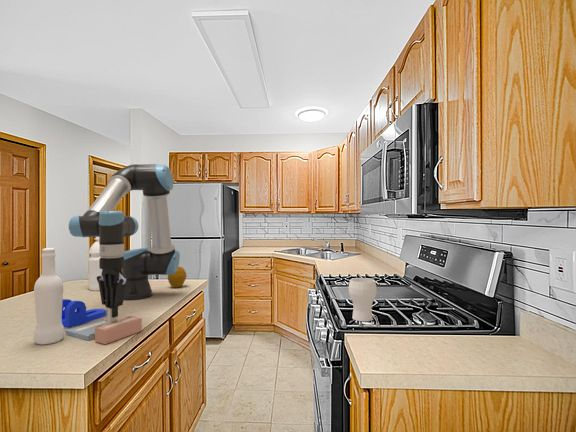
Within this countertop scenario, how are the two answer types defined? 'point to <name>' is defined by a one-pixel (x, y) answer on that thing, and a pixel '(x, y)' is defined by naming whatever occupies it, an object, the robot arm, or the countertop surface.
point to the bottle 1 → (48, 302)
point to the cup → (362, 297)
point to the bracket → (78, 313)
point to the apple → (177, 278)
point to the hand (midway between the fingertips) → (112, 326)
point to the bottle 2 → (94, 266)
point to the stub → (118, 329)
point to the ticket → (85, 330)
